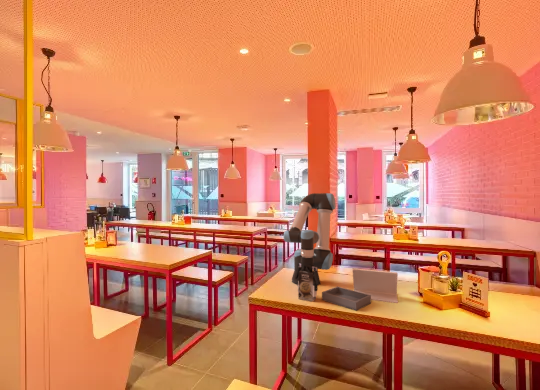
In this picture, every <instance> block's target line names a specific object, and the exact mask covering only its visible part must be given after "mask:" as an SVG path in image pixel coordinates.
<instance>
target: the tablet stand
mask: <svg viewBox="0 0 540 390" xmlns="http://www.w3.org/2000/svg"><path fill="white" fill-rule="evenodd" d="M398 275H399V274H398V272H394V271H386V270H372V269H362V268H361V269H360V268H353V269H352V280H353V281H352V282H353V291H356V292H360V293H364V294H368V295H371V301H375V302H383V303H391V304H398V303H399V301H398V300H399V299H398V294H397V293H398Z"/></svg>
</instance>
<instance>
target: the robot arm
mask: <svg viewBox="0 0 540 390" xmlns="http://www.w3.org/2000/svg"><path fill="white" fill-rule="evenodd" d="M312 210H316V213H317V214H318V217H317V229H316V231H314V230H313V229H303V228H304V226H305V223H306V222H307V218H308V216H309V213H310V212H312ZM334 210H336V198H335V195H334V194H333V193H330V192H329V193H328V192H326V193H325V192H321V193H319V192H317V193H315V192H314V193H309V194H308V195H306V196H305V197H303V198H302V200H301V201H300V202H299V204H298V210H297V213H296V215H295V217H294V220H293V222H292V225H291V226H290V229H289V230H288V229H287V230H285V231H284V232H283V241H284V242H286V243H291V244H292V243H295V244H300V249H297V250H295V251H294V253H293V254H294V256H293V258H294V259H293V262H294V265H293V266H294V268H293V274H292V276H291V282H292V283H293V284H295V285H297V290H298V289H299V271H305V272H308V273H313V271H314V277H313V284H314V285H313V297H315V296H316V297H318V296H317V294H318V293H317V292H318V290H319V289H318V286H319V285H321V279H320V276H319V275H320V274H319V270H325V271H326V270H330V269H331V267H332V264H333V260H334V254H333V252H331V249H330V248H329V247H330V245H329V244H330V230H331V229H330V228H331V215H332V214H333V213H334ZM314 245H315V247H314Z"/></svg>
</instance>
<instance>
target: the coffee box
mask: <svg viewBox="0 0 540 390" xmlns="http://www.w3.org/2000/svg"><path fill="white" fill-rule="evenodd" d="M313 277H314V271H313V273H308V272H305V271H299V289H298V288H297V292H298V294H297V295H298V296H297V297H298V300H302V299H303V300H302V301H307V300H308V301H307V302H312V301H313V302H314V301H315V300H316V298H317V296H315V297H313V285H314V284H313Z"/></svg>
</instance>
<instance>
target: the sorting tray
mask: <svg viewBox="0 0 540 390" xmlns="http://www.w3.org/2000/svg"><path fill="white" fill-rule="evenodd" d="M321 301H324V302H328V303H331V304H334V305H336V306H340V307H342V308H346V309H349V310H352V311H356V312H357V311H359V310H361V309H362V308H365V307H366V306H369V305H370V304H372V300H371V295H368V294H364V293H360V292H356V291H354V289H349V288H345V287H341V286H335V287H332V288H330V289H329V288H328V289H326V290H324V291H322V292H321Z"/></svg>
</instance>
